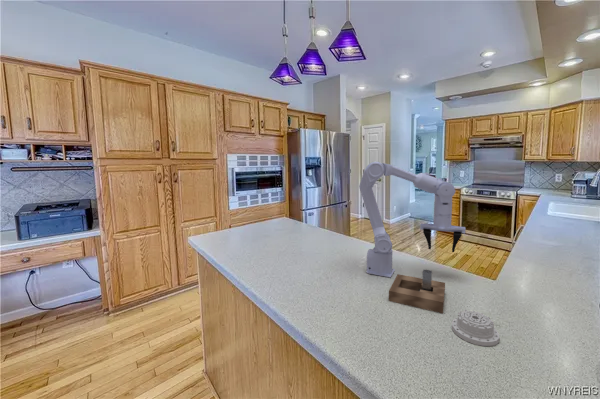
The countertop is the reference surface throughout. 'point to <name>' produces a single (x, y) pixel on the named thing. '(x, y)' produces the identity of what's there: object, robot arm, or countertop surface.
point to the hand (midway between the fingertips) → (441, 249)
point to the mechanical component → (475, 328)
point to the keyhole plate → (417, 293)
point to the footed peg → (427, 280)
